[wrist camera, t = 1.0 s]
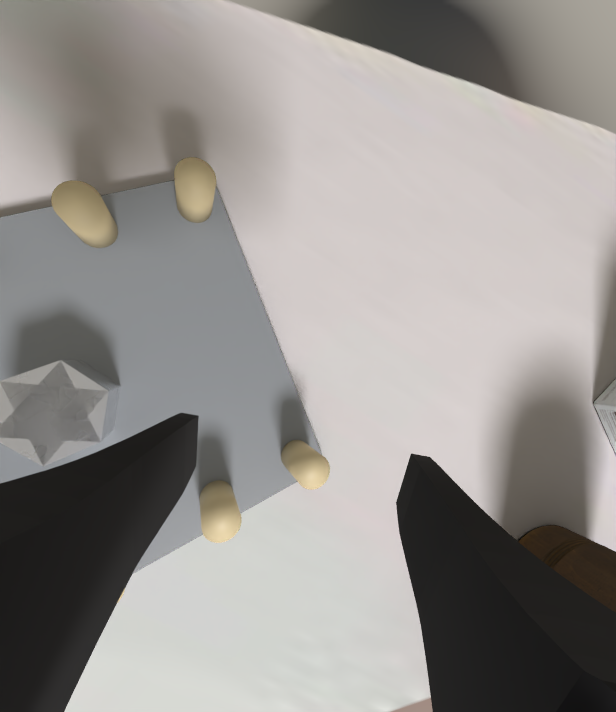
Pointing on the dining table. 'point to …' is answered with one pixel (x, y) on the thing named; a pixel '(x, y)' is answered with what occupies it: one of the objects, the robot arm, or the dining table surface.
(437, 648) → the robot arm
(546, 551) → the wooden container
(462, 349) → the dining table surface
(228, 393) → the board
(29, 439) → the faceted star polyhedron
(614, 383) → the supplement box
